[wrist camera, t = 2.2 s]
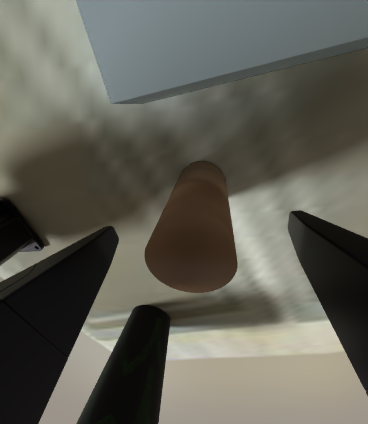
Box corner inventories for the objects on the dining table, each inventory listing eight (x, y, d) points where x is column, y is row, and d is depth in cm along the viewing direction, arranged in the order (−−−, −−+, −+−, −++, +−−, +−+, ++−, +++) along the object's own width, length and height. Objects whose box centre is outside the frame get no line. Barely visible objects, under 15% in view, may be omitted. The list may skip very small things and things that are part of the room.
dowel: (183, 206, 15) (158, 292, 8) (174, 164, 13) (132, 229, 6) (227, 202, 14) (239, 293, 7) (223, 157, 12) (234, 222, 6)
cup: (178, 334, 27) (156, 475, 17) (130, 326, 28) (81, 455, 18) (176, 304, 23) (146, 467, 13) (120, 297, 24) (50, 441, 14)
